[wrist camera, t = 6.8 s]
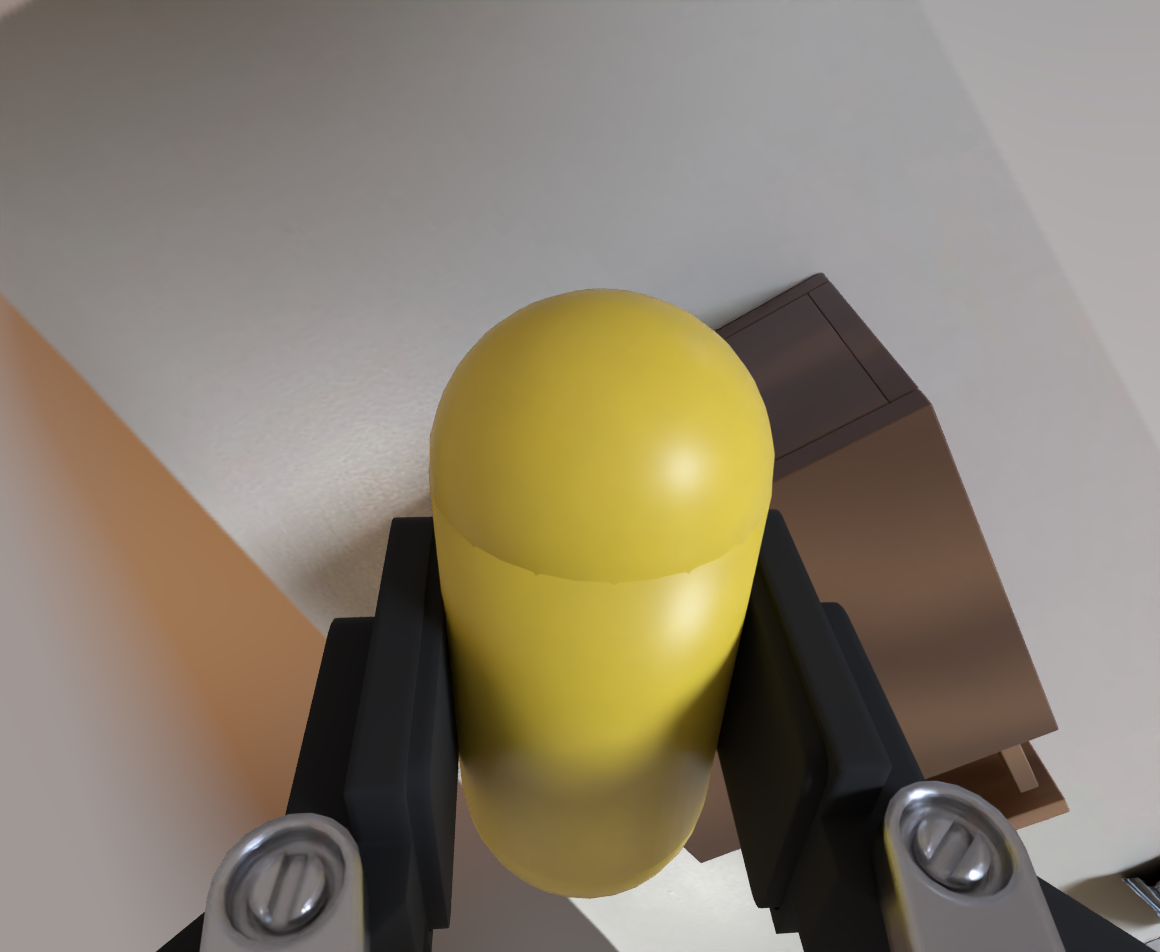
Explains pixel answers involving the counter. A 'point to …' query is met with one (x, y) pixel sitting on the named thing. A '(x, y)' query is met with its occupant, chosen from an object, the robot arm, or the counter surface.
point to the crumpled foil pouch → (1146, 892)
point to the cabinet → (883, 539)
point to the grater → (1154, 945)
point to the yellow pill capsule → (595, 577)
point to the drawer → (1011, 785)
